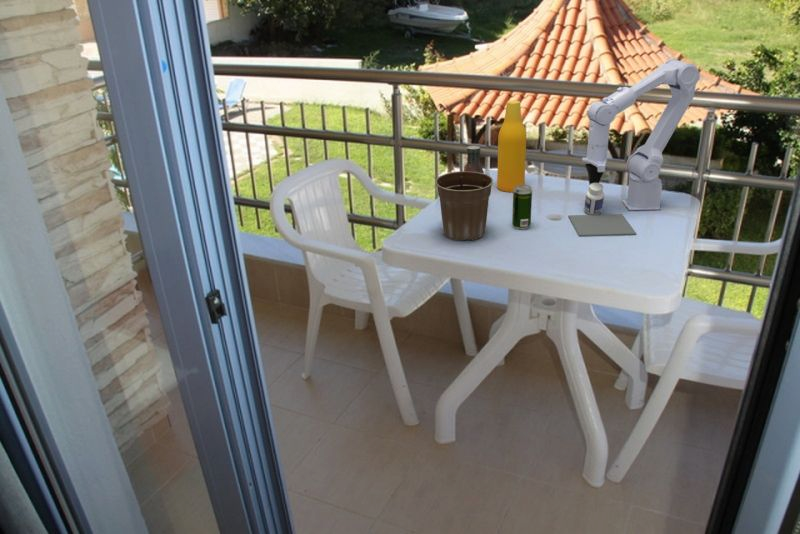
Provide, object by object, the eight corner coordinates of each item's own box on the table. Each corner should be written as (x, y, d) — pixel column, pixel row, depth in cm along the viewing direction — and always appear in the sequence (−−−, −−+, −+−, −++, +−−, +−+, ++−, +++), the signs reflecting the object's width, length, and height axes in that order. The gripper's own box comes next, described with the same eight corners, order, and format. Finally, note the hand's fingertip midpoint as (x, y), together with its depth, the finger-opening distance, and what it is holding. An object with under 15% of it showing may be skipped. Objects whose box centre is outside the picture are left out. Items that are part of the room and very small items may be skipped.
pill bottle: (602, 205, 211) (606, 182, 204) (600, 216, 207) (604, 193, 201) (585, 203, 212) (588, 180, 206) (582, 213, 209) (586, 190, 202)
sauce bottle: (482, 213, 212) (483, 150, 204) (462, 212, 214) (462, 150, 205) (483, 205, 218) (484, 144, 210) (464, 205, 219) (464, 144, 211)
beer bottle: (496, 183, 237) (498, 99, 224) (523, 183, 236) (527, 98, 224) (497, 192, 229) (499, 105, 216) (525, 192, 228) (529, 104, 215)
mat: (622, 215, 207) (622, 213, 206) (636, 235, 193) (636, 233, 193) (568, 216, 207) (568, 215, 207) (578, 236, 194) (579, 234, 193)
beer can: (534, 228, 200) (535, 189, 195) (517, 231, 199) (519, 191, 194) (524, 221, 205) (526, 183, 200) (508, 224, 203) (510, 186, 198)
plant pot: (476, 248, 189) (477, 193, 182) (425, 238, 197) (424, 184, 190) (501, 228, 201) (503, 175, 194) (452, 219, 209) (452, 168, 202)
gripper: (579, 137, 208) (575, 180, 214) (589, 151, 195) (585, 196, 201) (602, 137, 208) (598, 179, 214) (614, 150, 195) (609, 195, 201)
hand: (593, 187), depth 207 cm, fingers closed, pressing on pill bottle
